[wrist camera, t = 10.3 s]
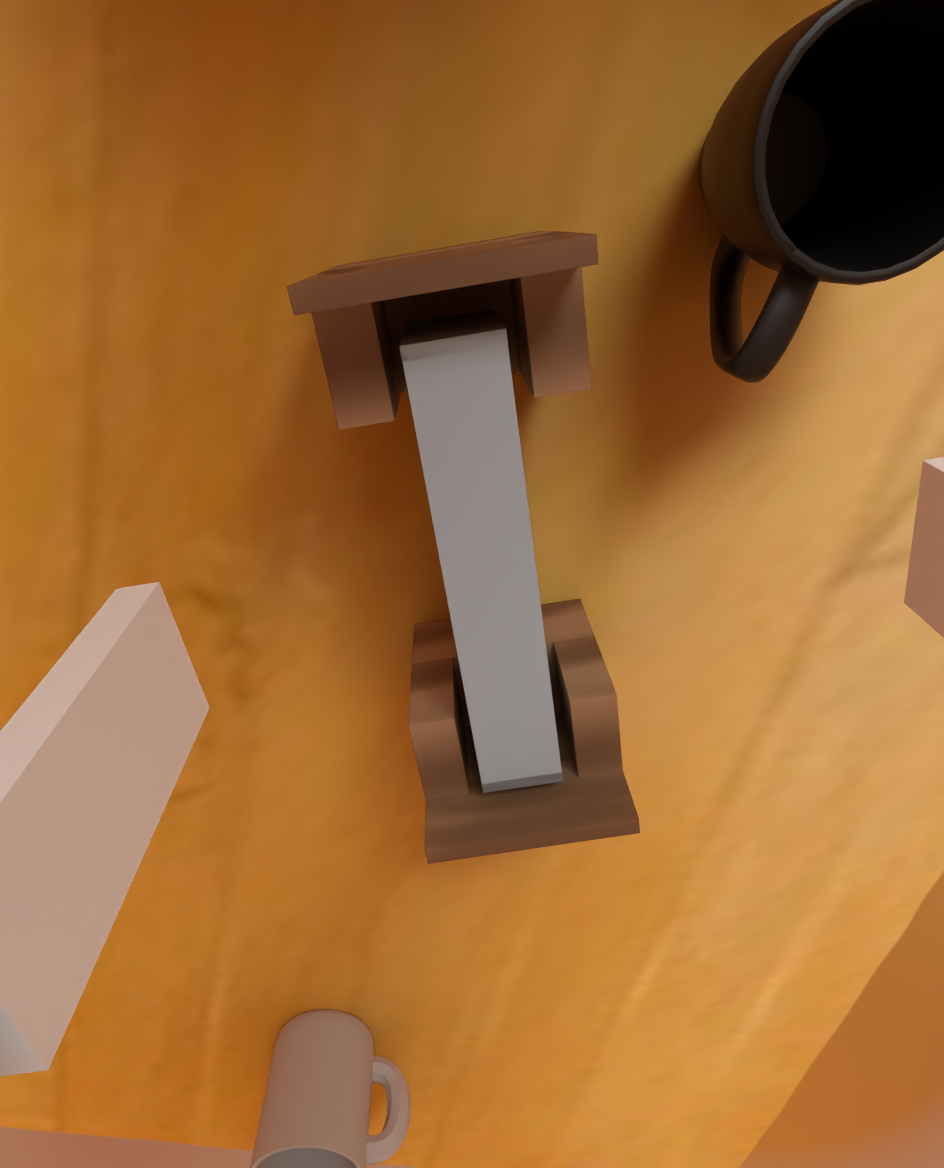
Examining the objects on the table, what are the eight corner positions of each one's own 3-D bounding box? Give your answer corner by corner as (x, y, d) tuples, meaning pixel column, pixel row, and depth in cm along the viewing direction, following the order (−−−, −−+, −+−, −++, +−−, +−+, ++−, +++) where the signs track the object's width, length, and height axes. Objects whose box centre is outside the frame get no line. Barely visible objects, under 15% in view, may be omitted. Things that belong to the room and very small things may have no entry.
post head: (337, 265, 32) (287, 286, 22) (543, 230, 32) (596, 233, 21) (362, 381, 35) (327, 453, 24) (554, 349, 34) (608, 407, 23)
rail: (406, 324, 30) (399, 346, 24) (493, 309, 30) (506, 328, 24) (476, 712, 38) (483, 793, 33) (545, 701, 38) (563, 781, 32)
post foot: (414, 624, 40) (405, 771, 29) (580, 598, 40) (632, 737, 29) (430, 700, 42) (428, 863, 32) (588, 676, 42) (639, 832, 31)
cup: (278, 1003, 53) (250, 1142, 45) (418, 1012, 54) (415, 1149, 46) (274, 1066, 56) (246, 1206, 48) (406, 1073, 57) (401, 1212, 49)
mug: (591, 306, 34) (643, 334, 25) (733, 4, 29) (858, -89, 20) (745, 379, 35) (843, 428, 27) (902, 105, 31) (1082, 58, 22)
